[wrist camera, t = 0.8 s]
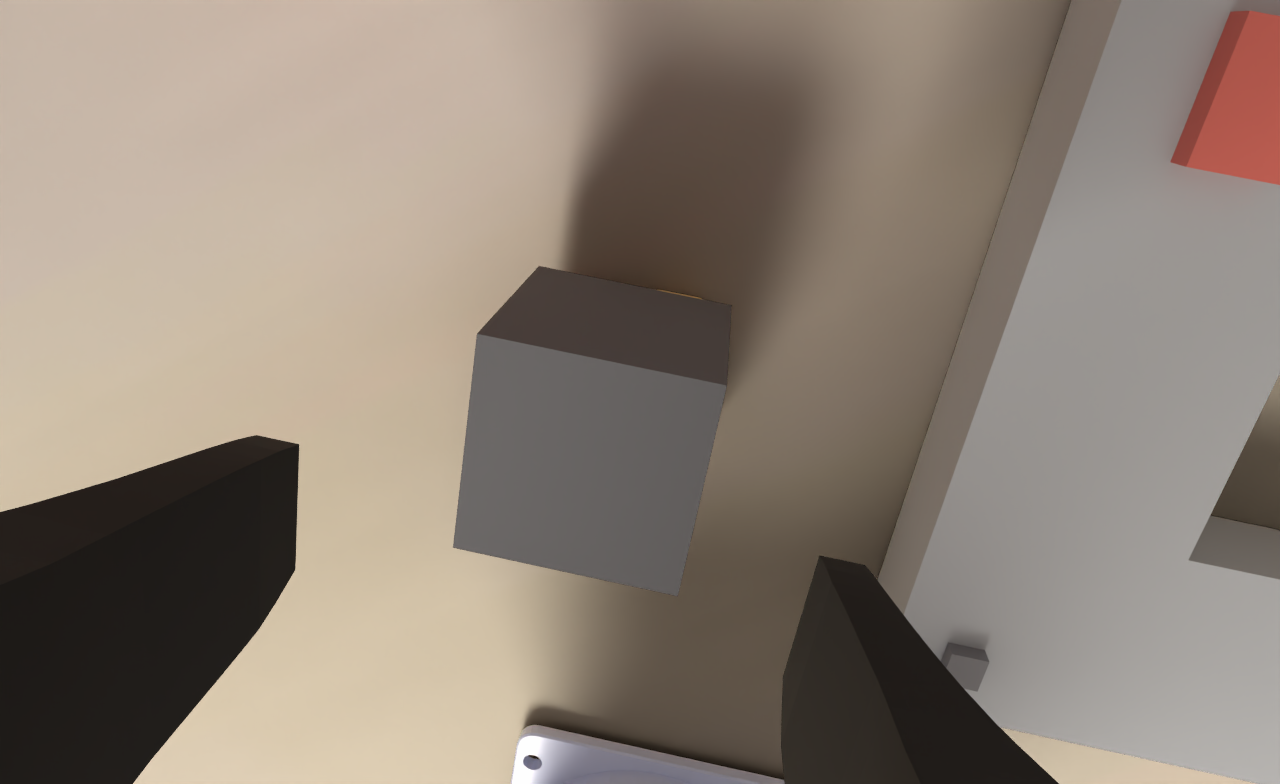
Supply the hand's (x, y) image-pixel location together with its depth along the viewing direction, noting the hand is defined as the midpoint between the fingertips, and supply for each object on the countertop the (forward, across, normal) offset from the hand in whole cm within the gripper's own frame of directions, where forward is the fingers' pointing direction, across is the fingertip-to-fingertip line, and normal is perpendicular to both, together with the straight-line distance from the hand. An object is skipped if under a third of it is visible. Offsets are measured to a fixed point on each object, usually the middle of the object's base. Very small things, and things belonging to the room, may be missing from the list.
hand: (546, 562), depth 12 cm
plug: (+9, 0, 0) cm, 9 cm away
